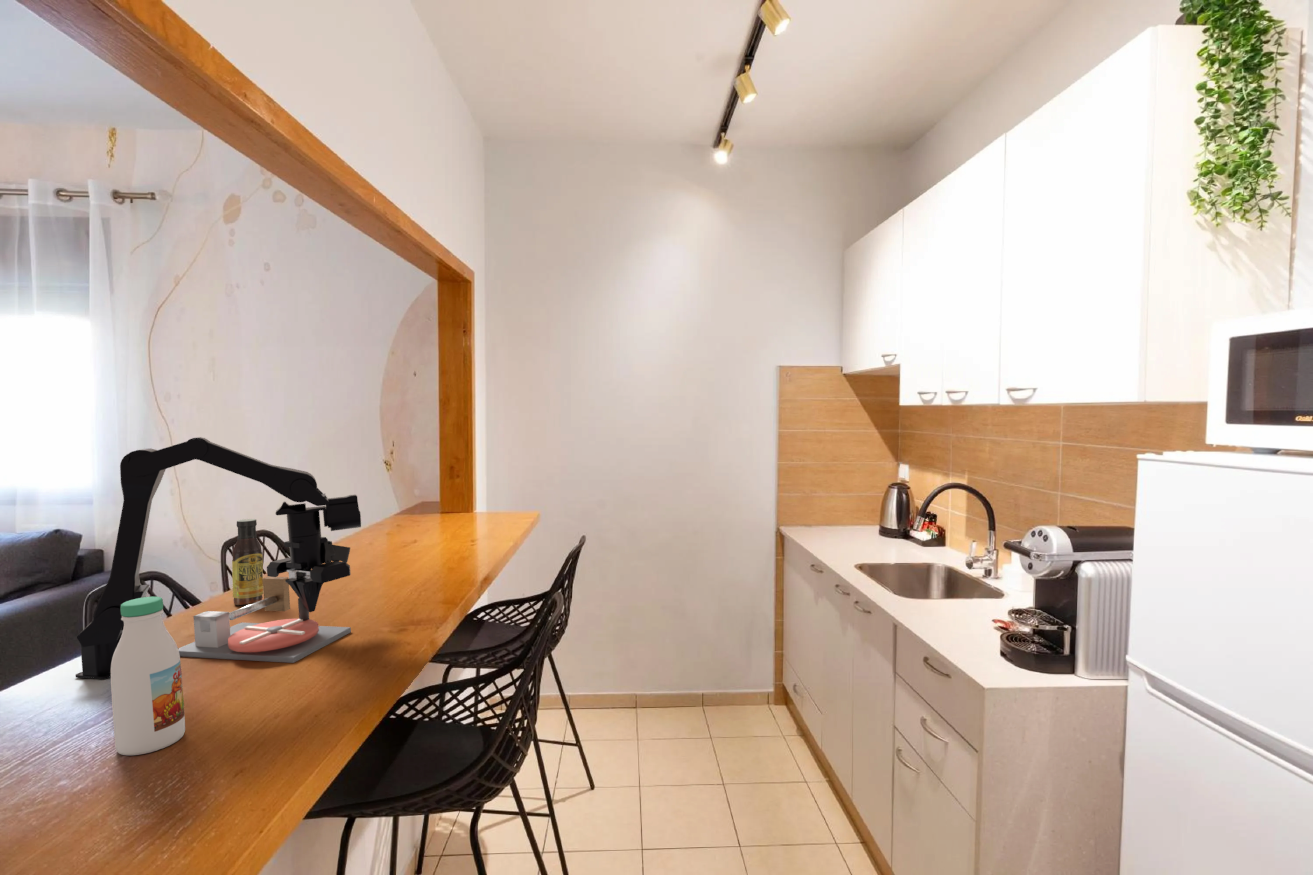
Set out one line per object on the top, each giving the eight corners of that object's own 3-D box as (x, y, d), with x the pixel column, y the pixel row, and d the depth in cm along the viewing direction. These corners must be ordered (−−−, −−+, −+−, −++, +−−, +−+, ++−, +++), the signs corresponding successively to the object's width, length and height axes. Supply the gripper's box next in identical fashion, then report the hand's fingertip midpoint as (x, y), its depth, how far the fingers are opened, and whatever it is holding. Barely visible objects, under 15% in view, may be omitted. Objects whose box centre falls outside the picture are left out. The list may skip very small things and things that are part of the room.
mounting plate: (293, 662, 119) (291, 625, 118) (172, 655, 124) (170, 619, 124) (350, 632, 135) (349, 598, 134) (241, 626, 140) (239, 594, 139)
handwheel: (337, 626, 132) (336, 599, 131) (271, 655, 117) (269, 624, 117) (279, 621, 136) (278, 594, 136) (208, 648, 122) (206, 618, 121)
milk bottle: (129, 763, 86) (119, 612, 85) (105, 748, 90) (95, 604, 89) (196, 736, 92) (186, 596, 91) (171, 723, 97) (161, 589, 96)
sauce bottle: (239, 608, 153) (234, 523, 152) (228, 603, 157) (223, 521, 156) (269, 600, 158) (264, 519, 157) (258, 596, 162) (253, 516, 161)
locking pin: (242, 628, 131) (240, 594, 130) (221, 627, 132) (218, 593, 131) (290, 608, 143) (288, 577, 143) (270, 608, 144) (268, 576, 144)
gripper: (370, 528, 134) (377, 604, 134) (313, 525, 143) (320, 596, 143) (319, 539, 124) (326, 621, 125) (262, 535, 133) (269, 611, 134)
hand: (311, 611), depth 132 cm, fingers closed
